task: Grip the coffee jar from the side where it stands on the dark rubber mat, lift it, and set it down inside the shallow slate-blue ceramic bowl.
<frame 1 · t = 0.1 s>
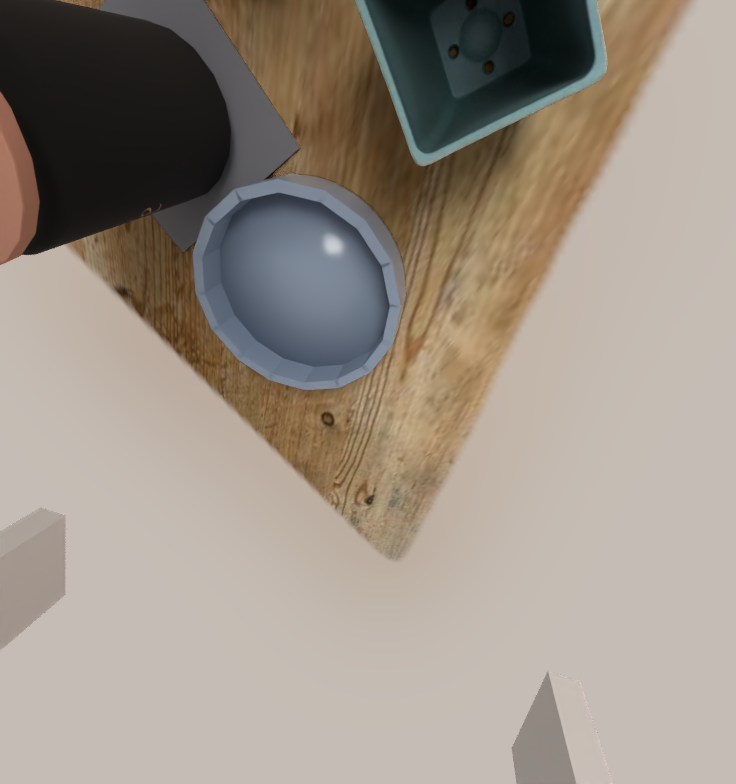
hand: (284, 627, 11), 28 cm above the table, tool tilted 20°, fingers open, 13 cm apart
coffee jar: (172, 118, 31), resting on mat
mat: (172, 118, 31), on the table
bowl: (308, 283, 36), on the table
flower pot: (479, 39, 25), on the table
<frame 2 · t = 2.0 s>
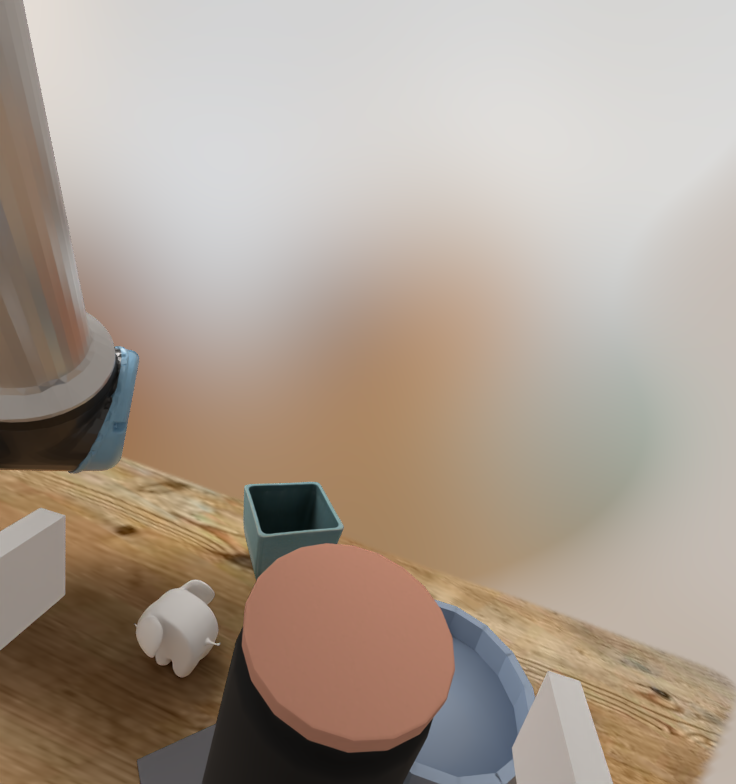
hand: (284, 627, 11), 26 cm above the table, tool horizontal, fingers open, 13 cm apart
elephant figurine: (176, 656, 37), on the table
bowl: (428, 701, 38), on the table
flower pot: (279, 574, 48), on the table
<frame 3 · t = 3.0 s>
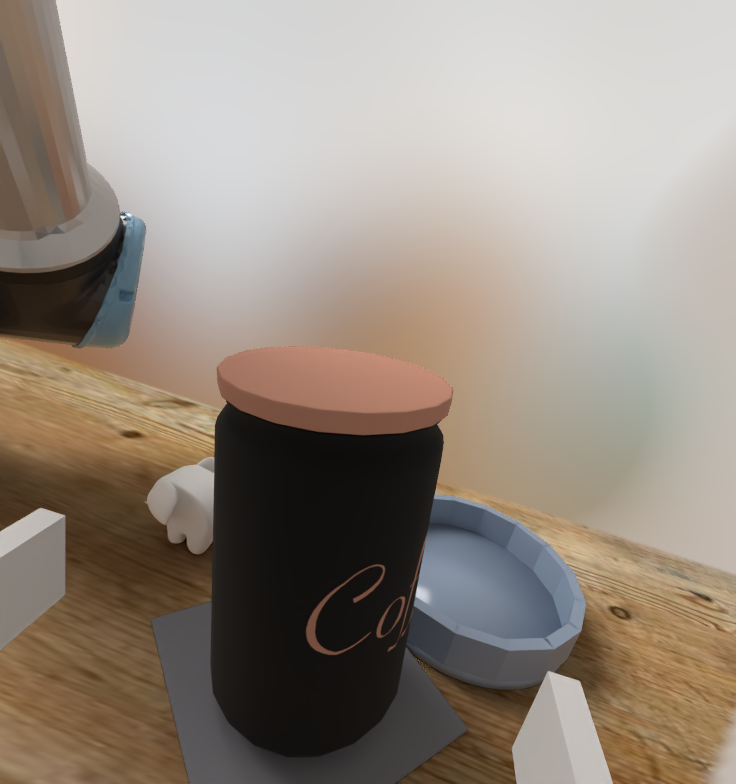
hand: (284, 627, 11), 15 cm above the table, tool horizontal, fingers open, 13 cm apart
coffee jar: (307, 672, 25), point 1 cm above the table, touching mat
elephant figurine: (190, 538, 34), on the table
mat: (302, 674, 26), on the table
bowl: (461, 589, 35), on the table
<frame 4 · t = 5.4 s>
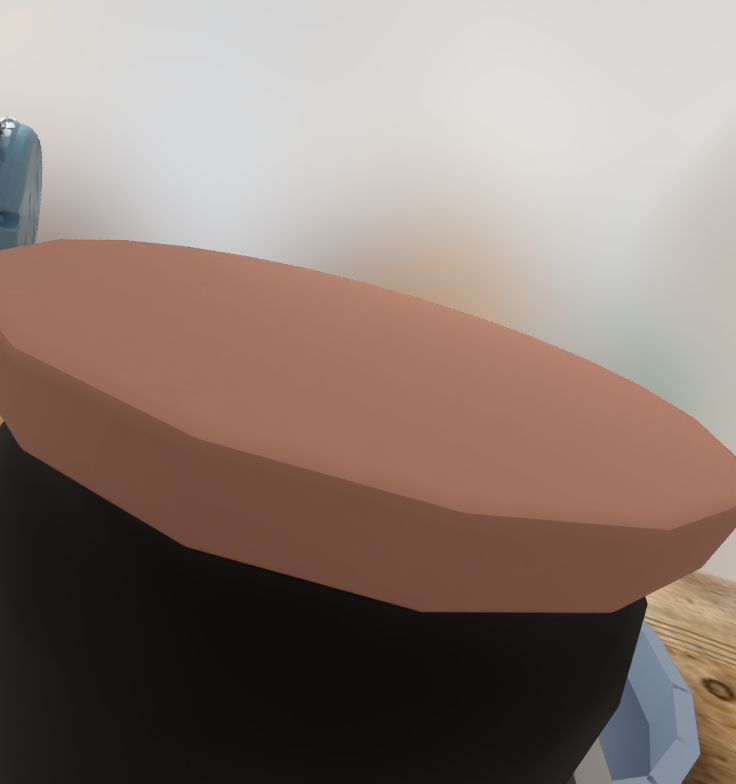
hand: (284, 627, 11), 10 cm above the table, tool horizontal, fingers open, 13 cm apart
bowl: (490, 662, 24), on the table
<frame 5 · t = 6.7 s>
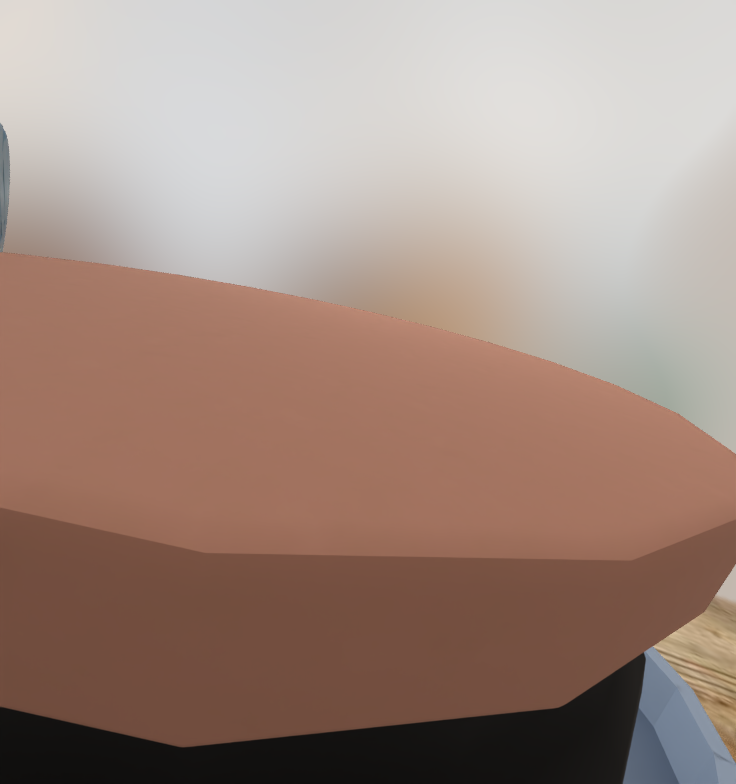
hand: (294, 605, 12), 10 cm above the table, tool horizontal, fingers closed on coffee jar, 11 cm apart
bowl: (502, 717, 21), on the table
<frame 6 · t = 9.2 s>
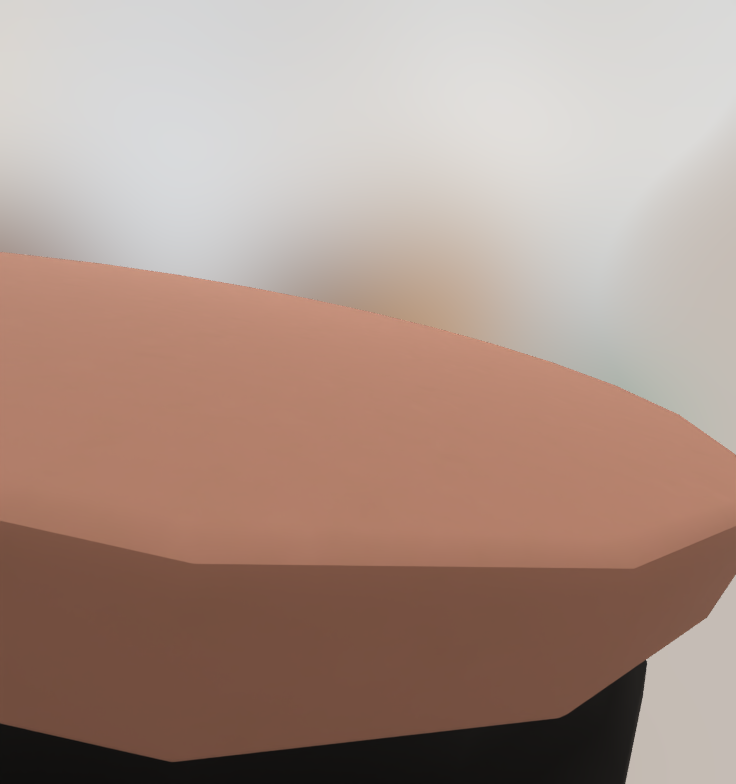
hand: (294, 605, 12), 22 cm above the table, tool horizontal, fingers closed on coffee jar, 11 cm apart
when the fingers open (12 cm above the table, at t = 11.8 s): coffee jar drops 2 cm, resting on bowl.
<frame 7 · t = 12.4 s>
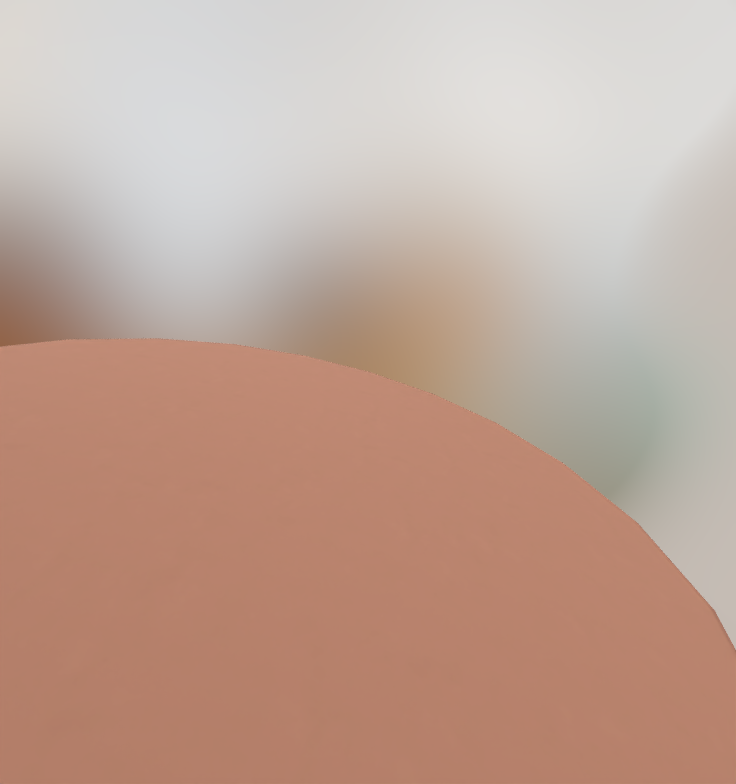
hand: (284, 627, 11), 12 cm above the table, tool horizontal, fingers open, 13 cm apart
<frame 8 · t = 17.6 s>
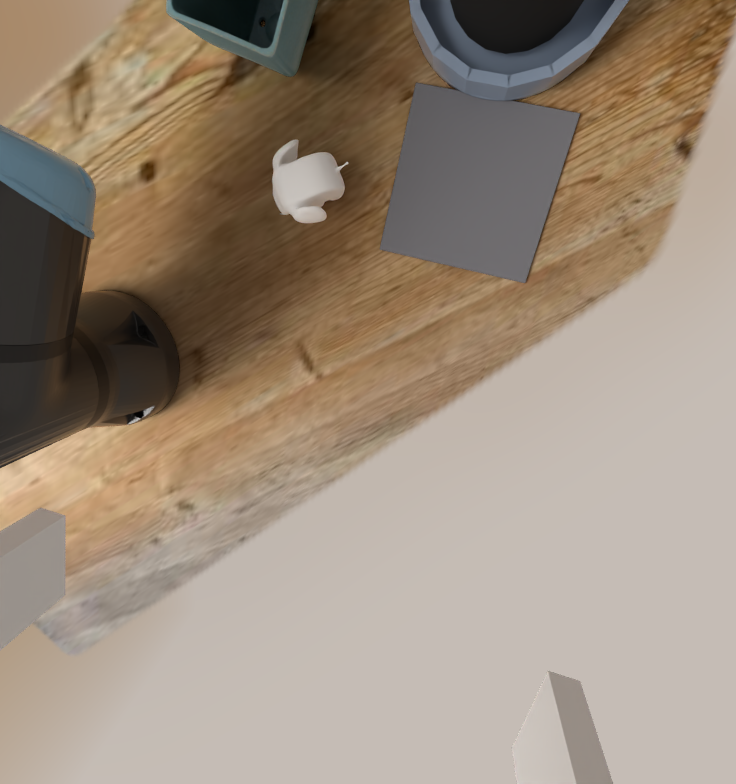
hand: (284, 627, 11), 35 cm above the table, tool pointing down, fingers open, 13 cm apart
elephant figurine: (319, 190, 41), on the table
mat: (472, 186, 39), on the table
flower pot: (282, 32, 38), on the table
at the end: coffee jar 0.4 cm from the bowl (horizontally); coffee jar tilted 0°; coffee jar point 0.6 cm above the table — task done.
